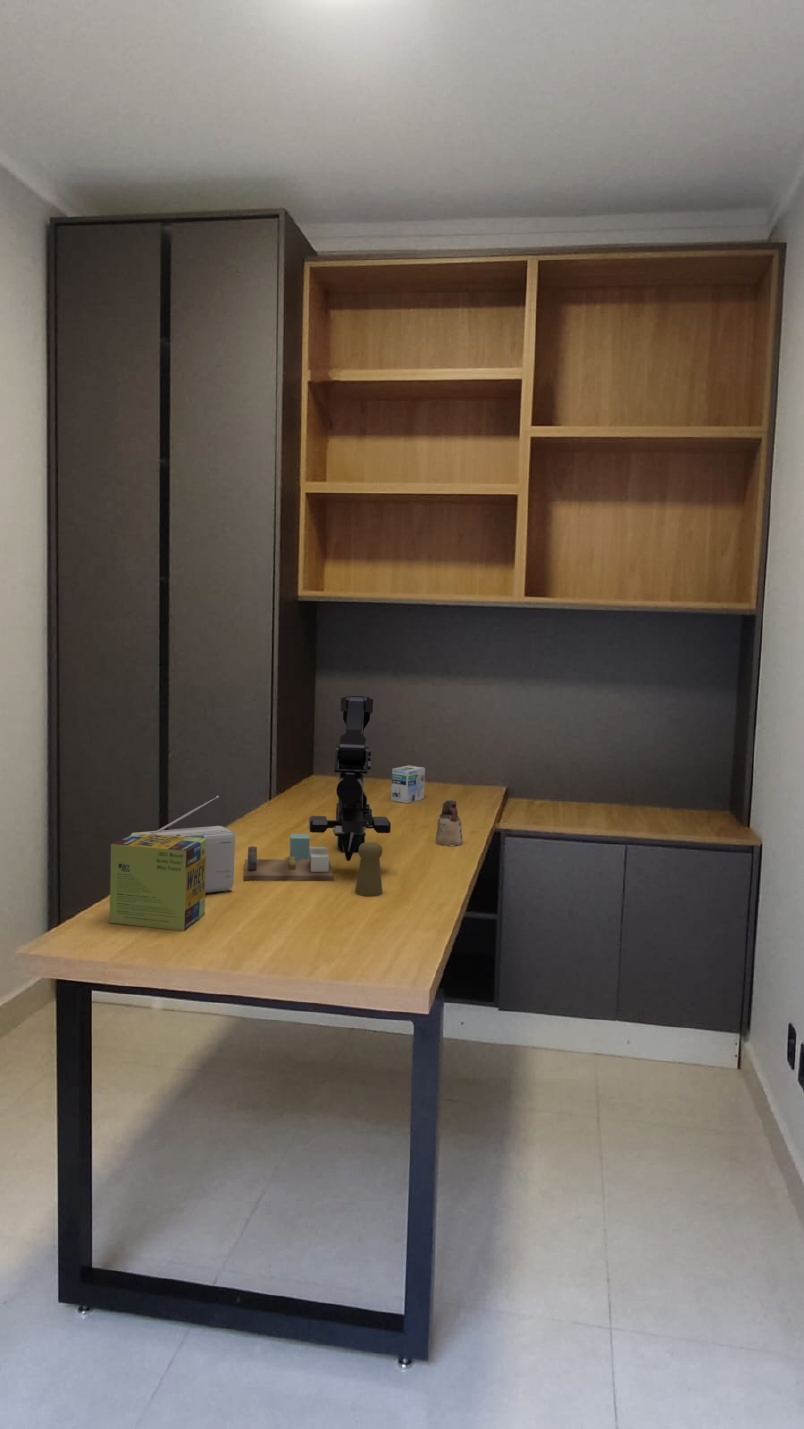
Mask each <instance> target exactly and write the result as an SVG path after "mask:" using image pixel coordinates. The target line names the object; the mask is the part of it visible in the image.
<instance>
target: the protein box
mask: <svg viewBox="0 0 804 1429" xmlns="http://www.w3.org/2000/svg"><path fill="white" fill-rule="evenodd" d="M134 833H135V834H133V835H131V834H130V835H128V836H126V837H123V838H122V839H120V840H117V841H115V842H113V843H111V844H110V883H109V884H110V886H109V887H110V889H109V893H110V894H109V923H110V924H117V925H125V926H126V925H129V926H136V927H145V928H155V929H164V930H174V931H180V932H181V931H183V932H184V931H185V930H186V929H188V928H190V927H191V926H192V925H193V924H194V923H196V922H197V921H198V920H200V919H201V918H202V917H204V916H205V915H206V893H205V876H206V838H193V837H182V836H171V835H157V834H145V833H138V832H134Z"/></svg>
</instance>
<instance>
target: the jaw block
mask: <svg viewBox="0 0 804 1429" xmlns="http://www.w3.org/2000/svg"><path fill="white" fill-rule="evenodd" d="M309 847H310V835H309V833H307V834H306V833H290V834H289V856H294V857H295V859H309Z"/></svg>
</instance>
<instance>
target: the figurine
mask: <svg viewBox="0 0 804 1429" xmlns="http://www.w3.org/2000/svg"><path fill="white" fill-rule="evenodd" d="M457 803H458V802H457V801H456V800H454V799H447V800H446V801H444V802H443V803H442V807H441V808H442V809H441V813H440V814H439V819H438V821H437V829H436V834H435V843H436V844H437V845H440V846H443V845H459V846H461V845H462V844H463V833H462V831H463V830H462V822H461V819H460V817H459V815H458V808H457Z"/></svg>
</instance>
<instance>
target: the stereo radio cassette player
mask: <svg viewBox="0 0 804 1429" xmlns="http://www.w3.org/2000/svg"><path fill="white" fill-rule="evenodd" d="M219 798H220V796H219V795H217V796H215V798H213V799H211V800H209V801H206V802H205V803H203V804H202V805H200V806H198V807H196V808H194V809H192V810H190V811H189V812H187V813H184V814H183V815H182V816H180V817H179V818H176V819H175V820H173V821H172V822H170V823H168V824H166V825H165V826H162V827H161V828H160V829H157V830H153V831H152V830H151V831H141V832H139V831H138V832H137V833H145V834H157V835H171V836H182V837H193V838H206V876H205V894H207V893H209V894H210V893H218V892H227V891H229V890H230V889H231V888H233V887H234V882H235V881H234V880H235V879H234V878H235V877H234V875H235V853H236V852H235V846H236V844H235V843H236V835H235V832H234V831H231V830H229V828H227V827H224V826H221V825H214V826H201V827H188V828H187V827H186V828H177V829H176V828H174V829H167V828H169V827H170V826H173V825H174V824H175V823H176V824H177V822H179V821H181V820H182V819H184V818H186V817H188V816H190V815H191V814H193V813H194V812H196V811H198V810H200V809H201V808H202V807H204V806H206V805H208V804H209V803H211V802H212V801H213V800H216V799H219ZM166 829H167V830H166ZM135 833H136V832H132V833H131V834H130V835H133V834H135Z"/></svg>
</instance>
